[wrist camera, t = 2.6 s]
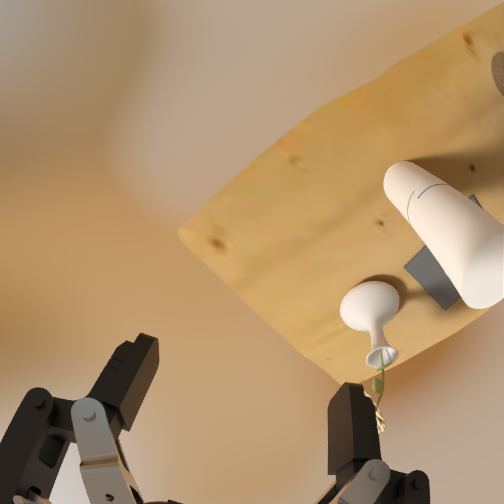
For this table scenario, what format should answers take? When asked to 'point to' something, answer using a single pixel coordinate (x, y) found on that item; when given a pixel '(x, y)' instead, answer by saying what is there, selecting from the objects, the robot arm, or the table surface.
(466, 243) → the cylindrical container
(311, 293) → the table surface
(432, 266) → the pad
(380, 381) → the flower in vase
